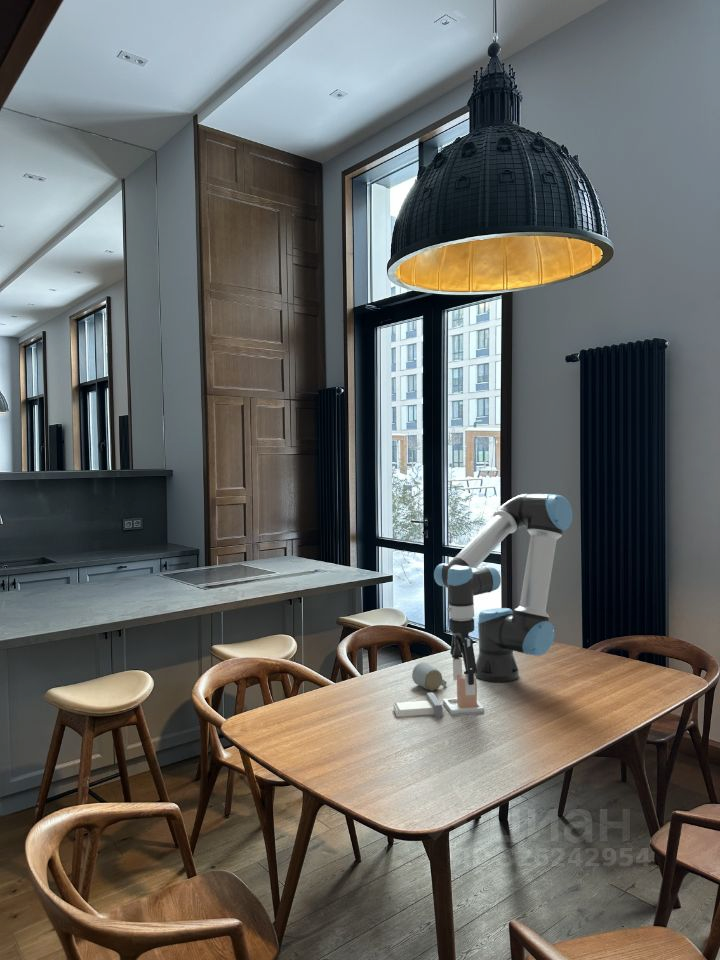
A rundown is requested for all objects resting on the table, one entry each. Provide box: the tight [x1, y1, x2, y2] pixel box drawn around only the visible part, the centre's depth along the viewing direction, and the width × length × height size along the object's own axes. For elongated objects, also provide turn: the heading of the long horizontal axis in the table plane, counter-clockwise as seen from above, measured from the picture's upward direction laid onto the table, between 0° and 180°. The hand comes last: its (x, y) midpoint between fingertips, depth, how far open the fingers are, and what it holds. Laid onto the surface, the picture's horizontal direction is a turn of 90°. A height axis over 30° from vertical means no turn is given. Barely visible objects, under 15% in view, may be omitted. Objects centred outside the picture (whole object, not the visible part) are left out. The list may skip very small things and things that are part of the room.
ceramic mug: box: [411, 662, 448, 692], centre depth 228 cm, size 11×8×8 cm
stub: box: [456, 674, 478, 708], centre depth 208 cm, size 5×4×9 cm
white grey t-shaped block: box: [392, 692, 444, 718], centre depth 206 cm, size 14×11×4 cm
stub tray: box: [442, 697, 485, 716], centre depth 208 cm, size 10×10×2 cm
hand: (464, 686), depth 209 cm, fingers open, 13 cm apart
